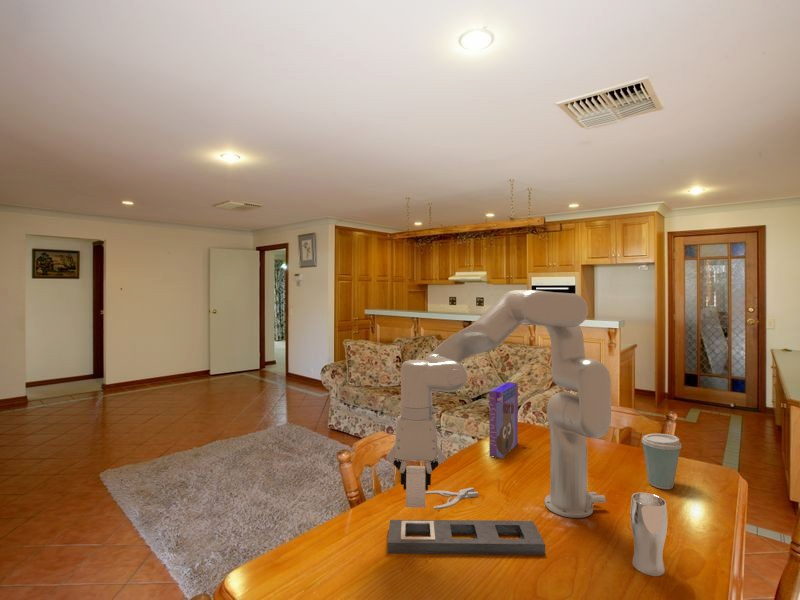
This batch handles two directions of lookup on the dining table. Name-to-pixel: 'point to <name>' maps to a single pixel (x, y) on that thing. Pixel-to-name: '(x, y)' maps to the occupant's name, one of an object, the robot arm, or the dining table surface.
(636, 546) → the beer glass
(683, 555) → the dining table surface
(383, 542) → the dining table surface
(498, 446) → the cereal box
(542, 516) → the dining table surface
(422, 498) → the steel block
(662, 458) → the disposable coffee cup
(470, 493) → the pliers
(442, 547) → the rail
